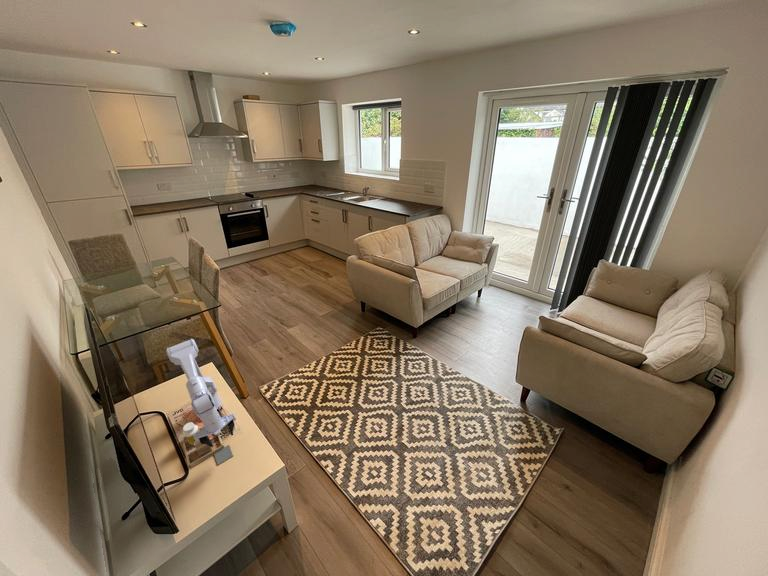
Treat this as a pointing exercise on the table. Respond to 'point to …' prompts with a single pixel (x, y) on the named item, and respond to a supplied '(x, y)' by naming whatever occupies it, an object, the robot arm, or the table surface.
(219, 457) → the slate coaster
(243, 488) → the table surface
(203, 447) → the walnut block
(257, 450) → the table surface
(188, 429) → the supplement bottle
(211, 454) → the beech tray
